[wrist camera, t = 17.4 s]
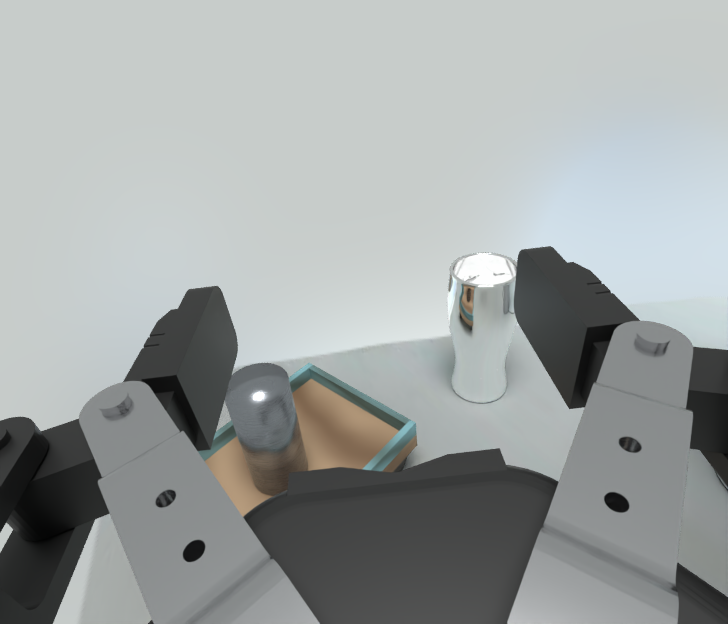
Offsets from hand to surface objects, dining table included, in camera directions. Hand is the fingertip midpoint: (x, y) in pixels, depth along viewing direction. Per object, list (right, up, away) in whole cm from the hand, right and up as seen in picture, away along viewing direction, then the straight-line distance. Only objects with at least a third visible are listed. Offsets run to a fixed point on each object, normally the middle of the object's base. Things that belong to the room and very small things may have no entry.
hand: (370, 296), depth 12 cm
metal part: (-7, -14, +26) cm, 31 cm away
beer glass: (+13, -9, +39) cm, 42 cm away
